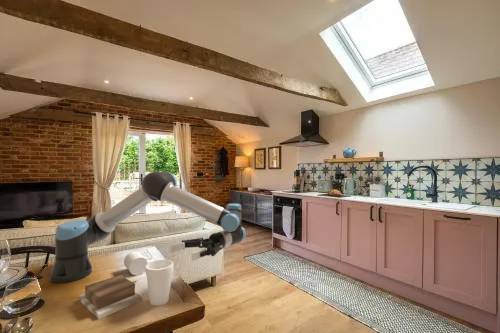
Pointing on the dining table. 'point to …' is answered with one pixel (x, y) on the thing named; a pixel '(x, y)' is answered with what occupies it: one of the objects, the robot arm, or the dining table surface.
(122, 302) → the build base
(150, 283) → the foam cup
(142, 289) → the dining table surface
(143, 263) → the mug
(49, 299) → the dining table surface
